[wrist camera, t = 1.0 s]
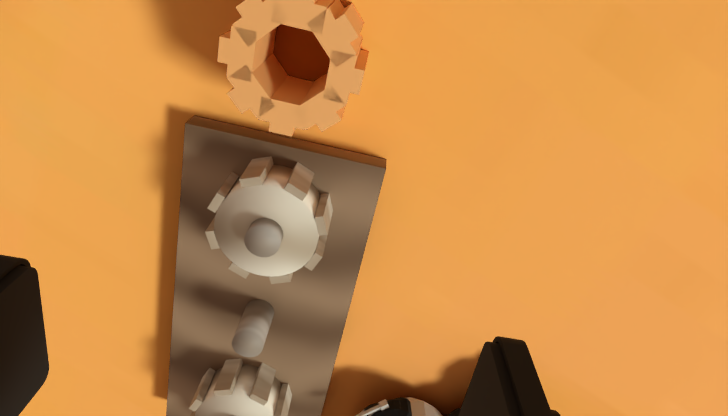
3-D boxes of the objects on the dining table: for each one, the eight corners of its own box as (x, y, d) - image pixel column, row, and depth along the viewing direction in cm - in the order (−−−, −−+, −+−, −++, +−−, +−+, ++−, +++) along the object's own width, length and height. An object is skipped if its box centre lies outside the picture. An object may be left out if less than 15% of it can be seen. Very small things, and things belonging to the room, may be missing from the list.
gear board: (194, 115, 31) (157, 147, 26) (386, 159, 32) (385, 198, 27) (173, 401, 43) (144, 460, 38) (315, 429, 43) (305, 491, 38)
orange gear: (252, -34, 27) (225, -30, 23) (380, -3, 28) (378, 7, 23) (238, 93, 31) (212, 118, 26) (353, 119, 31) (347, 149, 27)
